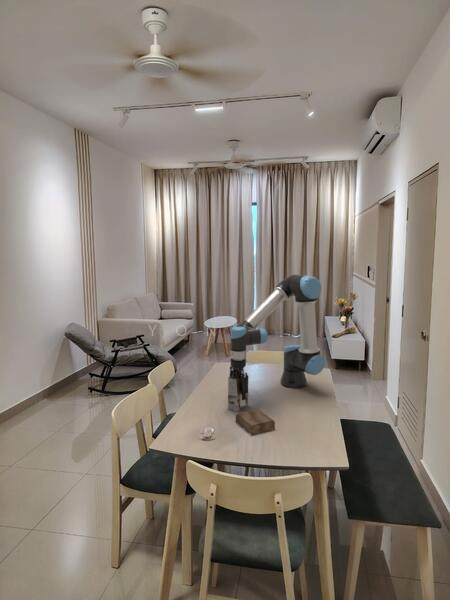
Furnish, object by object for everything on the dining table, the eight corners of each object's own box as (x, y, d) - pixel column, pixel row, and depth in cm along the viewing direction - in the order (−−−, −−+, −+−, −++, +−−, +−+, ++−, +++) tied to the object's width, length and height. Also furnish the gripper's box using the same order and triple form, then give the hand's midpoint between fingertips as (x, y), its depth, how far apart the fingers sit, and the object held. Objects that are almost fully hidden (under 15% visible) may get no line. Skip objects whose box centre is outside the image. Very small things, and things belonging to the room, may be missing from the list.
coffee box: (238, 412, 186) (238, 380, 184) (227, 408, 189) (227, 377, 187) (248, 405, 193) (248, 375, 191) (238, 402, 197) (238, 372, 195)
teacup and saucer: (208, 430, 168) (208, 421, 167) (222, 435, 163) (222, 426, 162) (194, 437, 161) (194, 428, 161) (208, 443, 156) (208, 434, 156)
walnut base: (258, 416, 180) (258, 408, 180) (274, 429, 168) (274, 420, 167) (235, 422, 175) (235, 413, 174) (251, 435, 162) (251, 426, 162)
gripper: (221, 354, 196) (222, 396, 199) (242, 365, 177) (242, 411, 180) (234, 352, 199) (234, 394, 202) (256, 362, 180) (255, 408, 183)
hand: (238, 402), depth 191 cm, fingers closed on coffee box, 8 cm apart
